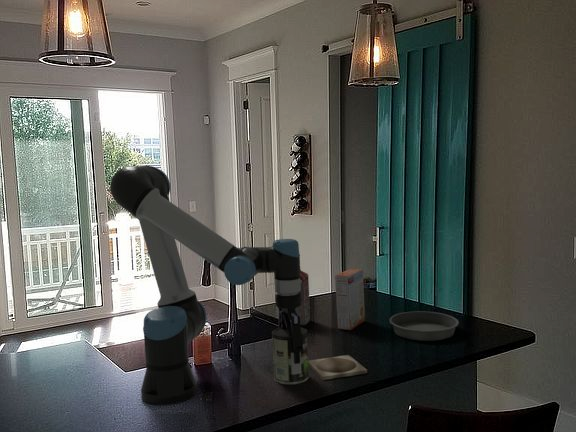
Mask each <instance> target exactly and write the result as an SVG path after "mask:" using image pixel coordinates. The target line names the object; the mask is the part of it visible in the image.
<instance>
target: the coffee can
mask: <svg viewBox="0 0 576 432" xmlns="http://www.w3.org/2000/svg"><path fill="white" fill-rule="evenodd" d="M300 327H301V326H300ZM301 335H302V343H303V351H302V352H301V373H300V374H294V375H292V372H291V353H290V352H289V351H290V350H292V348H291V337H290V336H289V332H288V329H282V328H278V327H277V328H275V329H273V330H272V331H271V336H272V354H273V375H274V376H273V378H274V379H273V380H274V381H275V382H276V383H278V384H282V385H289V386H290V385H292V386H293V385H299V384H303V383H305V382H307V381H308V379H309V378H310V376H309V365H308V361H309V358H308V330H307V329H306V328H304V327H301ZM297 348H298V347H297Z"/></svg>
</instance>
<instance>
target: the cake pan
mask: <svg viewBox="0 0 576 432" xmlns="http://www.w3.org/2000/svg"><path fill="white" fill-rule="evenodd" d="M389 324H391V325H392V328H393V331H394V333H395V335H397V336H398V337H401V338H403V339H404V338H405V339H408V340H413V341H430V342H431V341H441V340H445V339H446V340H447V339H449V338H451V337H453V335H454V334H455V331H456V327H458V325H459V324H460V322H459V319H457V318H455V317H454V316H453V315H449V314H446V313H441V312H436V311H425V310H423V311H422V310H419V311H417V310H416V311H407V312H406V311H405V312H399V313H397V314H393V315H392V316H391V317H390V318H389Z"/></svg>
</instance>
